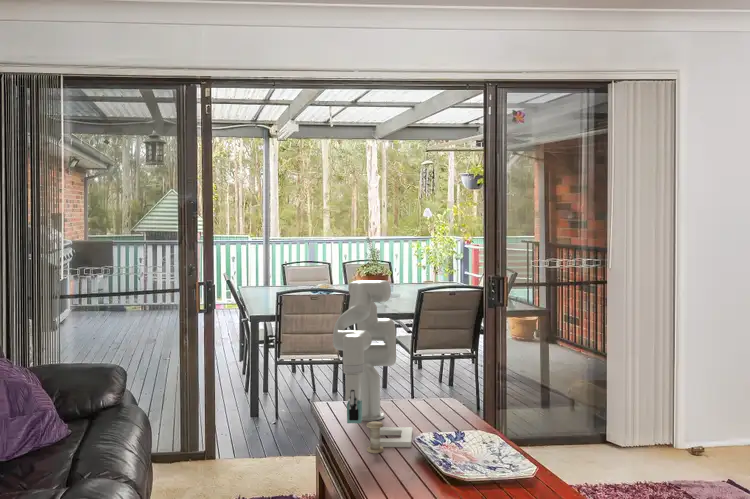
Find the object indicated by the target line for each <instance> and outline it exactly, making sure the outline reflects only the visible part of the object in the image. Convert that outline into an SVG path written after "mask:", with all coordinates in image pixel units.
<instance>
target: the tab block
mask: <svg viewBox="0 0 750 499" xmlns="http://www.w3.org/2000/svg"><path fill="white" fill-rule="evenodd" d="M349 401H350V399H349V400H348V401H346V424H362V422H363V421H362V400H359V401H358V402H357V409H358V420H349V407H350V402H349ZM354 401H356V400H354ZM354 403H355V404H356V402H354Z"/></svg>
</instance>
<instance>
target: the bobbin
mask: <svg viewBox="0 0 750 499" xmlns="http://www.w3.org/2000/svg"><path fill="white" fill-rule="evenodd" d="M381 427H384V423H383V422H381V421H377V420H376V421H367V423H366V428H369V440H370V442H369V443H370V445H369V446H368V447H367V448H366V452H368V453H370V454H380V453H383V452H384V447H381V446H380V438H381V435H380V428H381Z"/></svg>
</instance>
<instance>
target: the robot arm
mask: <svg viewBox="0 0 750 499" xmlns="http://www.w3.org/2000/svg"><path fill="white" fill-rule="evenodd" d="M391 289H392V288H391V284H390V282H389V281H388V280H355V281H350V283H349V284H348V290H347V291H348V293H349V303H348V309H347V310H345V311H344V312H343V313H342V314H340V315H339V317H338V318H337V319H336V321H335V323H334V327H333V334H332V346H333V348H334V349H335V350H337V351H342V367H343V371H342V372H343V374H345V397H344V398H345V402H348V400H350V401H349V402H350V407H349V420H358V409H357V402H358V401H359V400H362V422H374V421H376V422H377V421H379V420H382V419H383V418H385V413H384V412H383V411H381V376H380V373H379V372H378V370H377V369H376V367H390V366H394V365H395V364H396V362H397V338H396V337H397V334H396V333H397V332H396V324H395V322H394V320H393V319H392V318H387V317H383V318H382V317H380V318H379V317H378V307H377V304H376V303H386V302H388V301H389V300H390V297H391V295H392V294H391V293H392V290H391ZM353 325H357V329H347V328H349V327H351V326H353ZM372 342H373V343H372ZM374 342H375V343H374ZM376 342H377V343H376ZM378 342H382V343H378ZM354 400H356V401H354ZM354 402H356V404H355V403H354Z"/></svg>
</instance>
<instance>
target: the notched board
mask: <svg viewBox="0 0 750 499" xmlns="http://www.w3.org/2000/svg"><path fill="white" fill-rule="evenodd" d="M413 432H414V430H413V427H412V426H411V427H410V426H405V427H403V426H392V427H391V426H388V427H387V426H383V427H381V428H380V436H400V437H399V438H393V437H392V438H390V437H389V438H388V437H387V438H384V437H382V438H381V437H380V446H381V447H383V448H412V441H413Z"/></svg>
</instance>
